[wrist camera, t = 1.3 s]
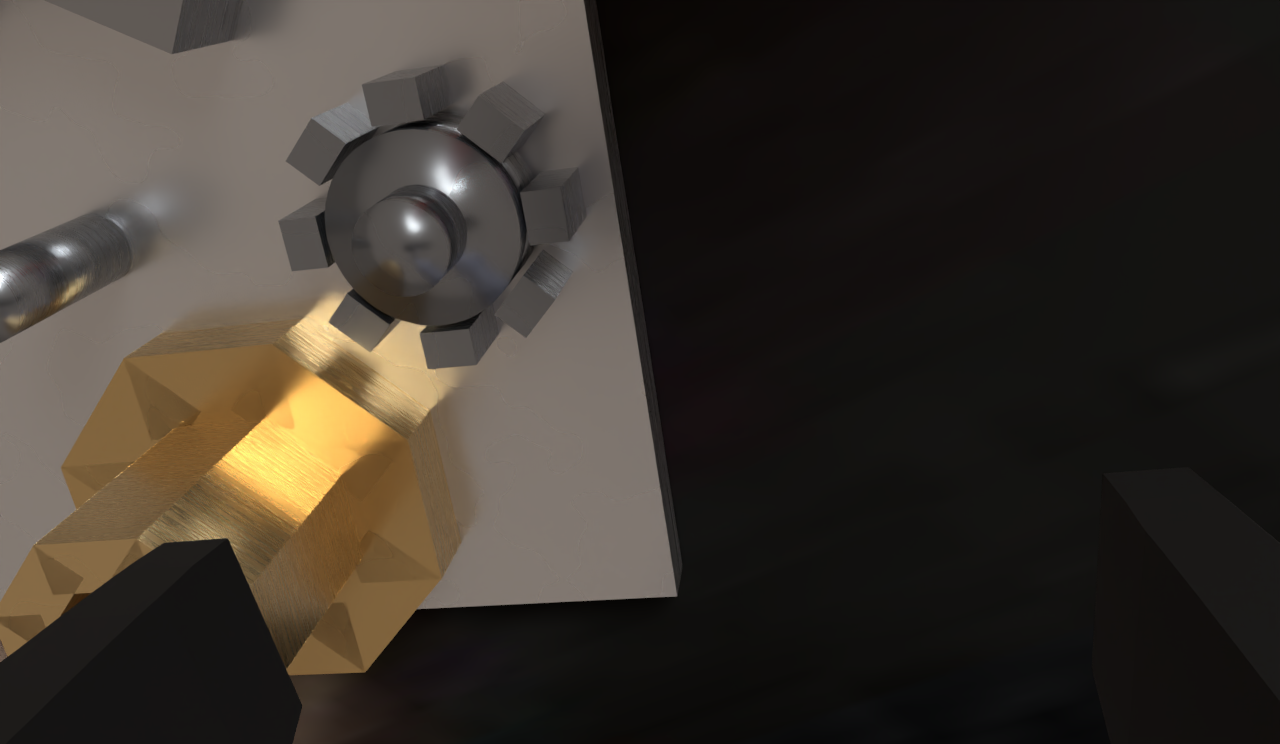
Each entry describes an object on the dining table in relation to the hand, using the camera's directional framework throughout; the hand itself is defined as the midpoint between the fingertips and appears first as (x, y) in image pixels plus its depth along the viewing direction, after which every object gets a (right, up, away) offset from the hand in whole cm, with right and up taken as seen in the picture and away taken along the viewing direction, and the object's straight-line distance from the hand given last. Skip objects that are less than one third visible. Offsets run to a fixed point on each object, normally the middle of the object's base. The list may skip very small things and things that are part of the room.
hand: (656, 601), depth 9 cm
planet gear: (-7, 0, +11) cm, 13 cm away
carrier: (-8, +4, +10) cm, 14 cm away
